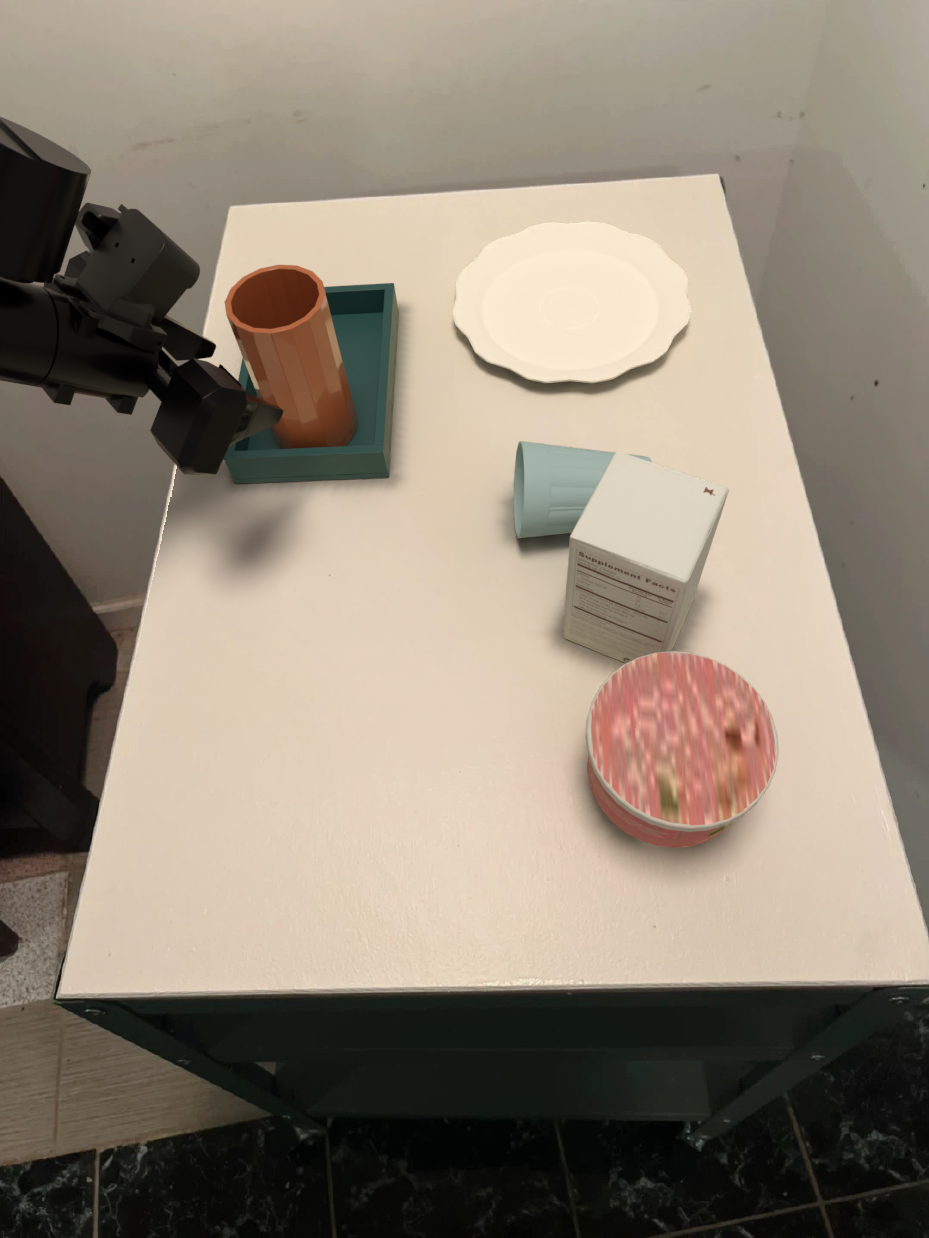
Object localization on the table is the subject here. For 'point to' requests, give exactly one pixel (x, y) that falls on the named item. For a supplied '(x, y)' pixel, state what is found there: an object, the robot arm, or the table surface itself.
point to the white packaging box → (638, 557)
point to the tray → (370, 369)
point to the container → (678, 748)
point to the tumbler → (293, 355)
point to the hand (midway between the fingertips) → (245, 381)
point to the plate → (571, 302)
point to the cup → (554, 486)
